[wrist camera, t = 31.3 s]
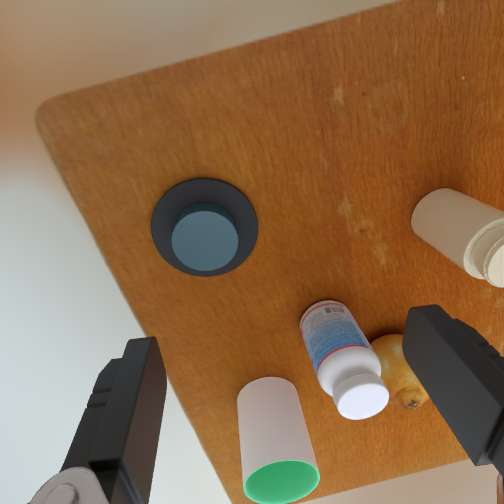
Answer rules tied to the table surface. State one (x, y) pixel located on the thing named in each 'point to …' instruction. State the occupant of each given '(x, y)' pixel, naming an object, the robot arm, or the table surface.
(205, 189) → the coaster
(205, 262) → the lid
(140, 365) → the robot arm
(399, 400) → the fruit
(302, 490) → the mug
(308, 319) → the pill bottle
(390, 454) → the table surface
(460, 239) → the jar
